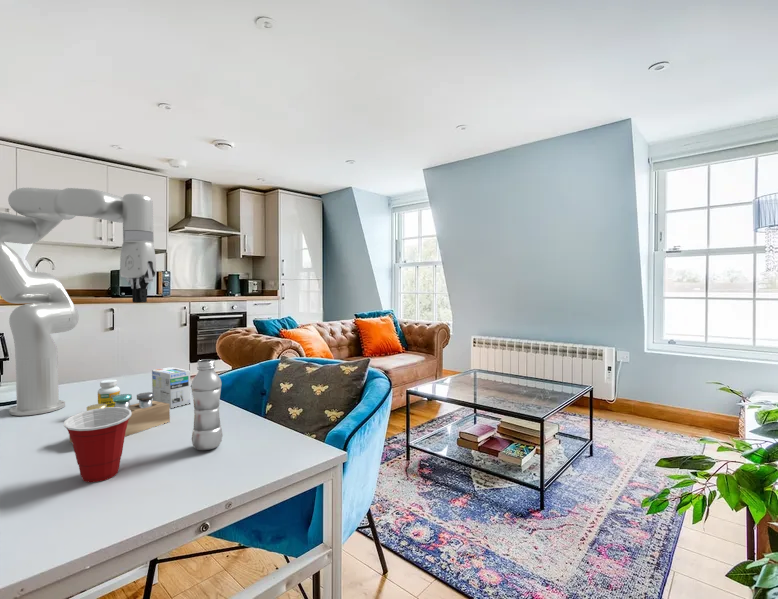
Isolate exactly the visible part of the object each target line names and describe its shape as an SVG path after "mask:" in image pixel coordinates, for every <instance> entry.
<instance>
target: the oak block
mask: <svg viewBox="0 0 778 599" xmlns="http://www.w3.org/2000/svg"><path fill="white" fill-rule="evenodd" d="M130 410H131V413H132V415H131V417H130V418H129V420H128V424H127V429H126V432H125V437H128V436H130V435H131V436H132V435H134V434H137V433H140V431H141V432H143V430H144V431H148V430H149V428H150V429H153V428H156V427H158V426H162V425H165V424H168V423H171V422H170V421H171V416H170V415H171V414H170V413H171V411H170V410H171V409H170V405H169V404H168V403H163V402H158V401H153V399H152V406H151V407H148V408H144V409H142V408H139V402H138V403H135V404H131V405H130ZM167 422H168V423H167ZM164 423H165V424H164ZM161 424H162V425H161ZM155 426H156V427H155ZM152 427H153V428H152ZM68 434H69V433H68ZM68 437H69V443H70V444H73V443H72V439H71V438H70V434H69V435H68Z"/></svg>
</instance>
